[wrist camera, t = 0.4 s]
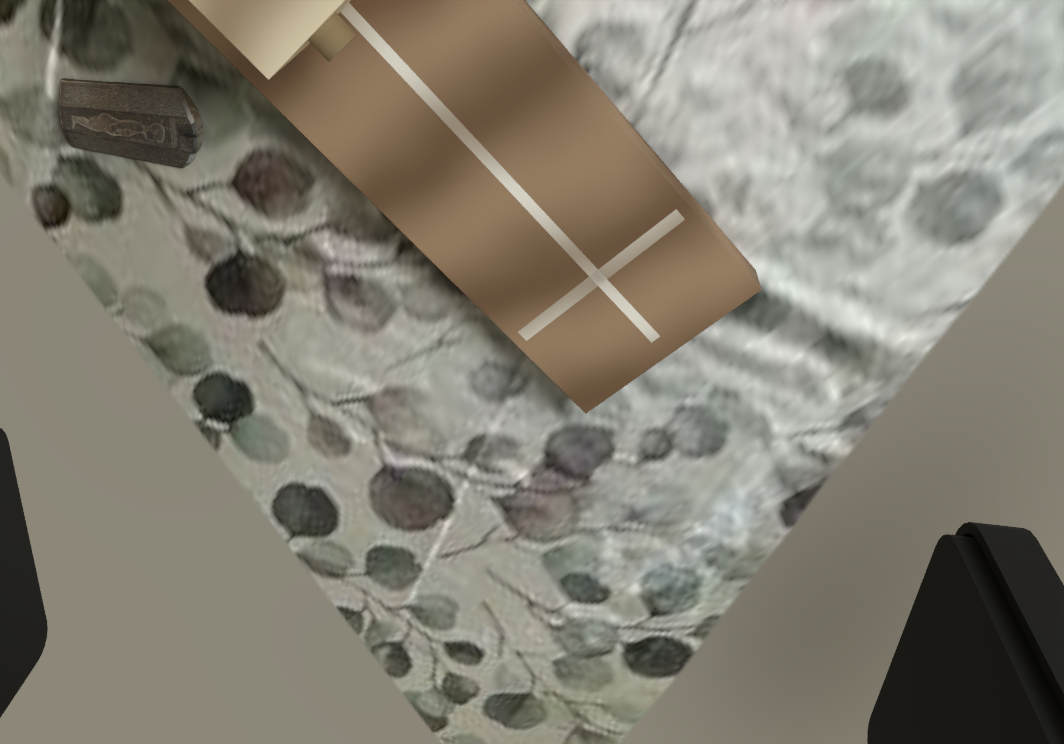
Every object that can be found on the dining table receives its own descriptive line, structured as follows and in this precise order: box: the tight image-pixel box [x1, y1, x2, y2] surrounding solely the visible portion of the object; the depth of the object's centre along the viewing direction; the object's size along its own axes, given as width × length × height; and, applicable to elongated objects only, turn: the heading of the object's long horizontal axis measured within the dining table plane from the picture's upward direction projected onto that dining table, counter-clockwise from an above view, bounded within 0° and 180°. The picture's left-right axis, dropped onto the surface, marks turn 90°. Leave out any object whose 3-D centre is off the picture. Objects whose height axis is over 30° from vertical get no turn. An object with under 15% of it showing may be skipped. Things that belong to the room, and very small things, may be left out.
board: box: [168, 0, 761, 413], centre depth 41 cm, size 28×10×2 cm, turn 42°
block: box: [59, 79, 203, 168], centre depth 43 cm, size 4×6×2 cm, turn 86°
